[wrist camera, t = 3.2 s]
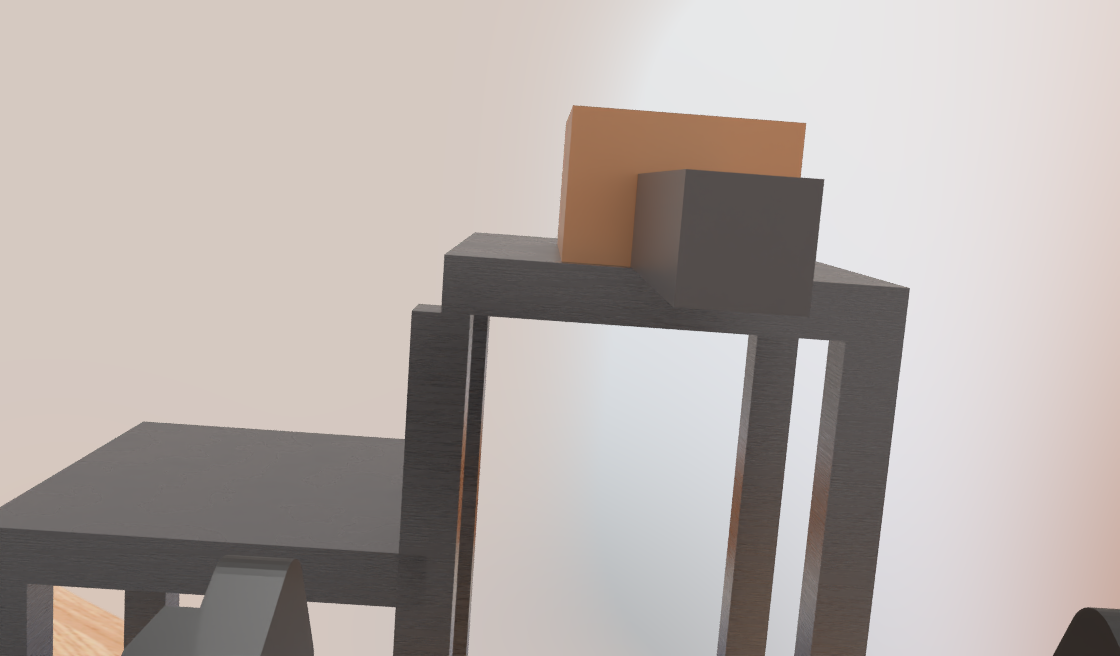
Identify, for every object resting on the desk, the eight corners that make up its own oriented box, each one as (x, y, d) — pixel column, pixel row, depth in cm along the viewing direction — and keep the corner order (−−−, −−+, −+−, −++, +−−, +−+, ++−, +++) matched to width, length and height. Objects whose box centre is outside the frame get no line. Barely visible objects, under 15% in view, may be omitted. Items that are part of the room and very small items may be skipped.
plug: (910, 324, 18) (938, 92, 18) (571, 300, 18) (588, 65, 18) (734, 256, 35) (745, 137, 35) (557, 243, 35) (566, 123, 34)
